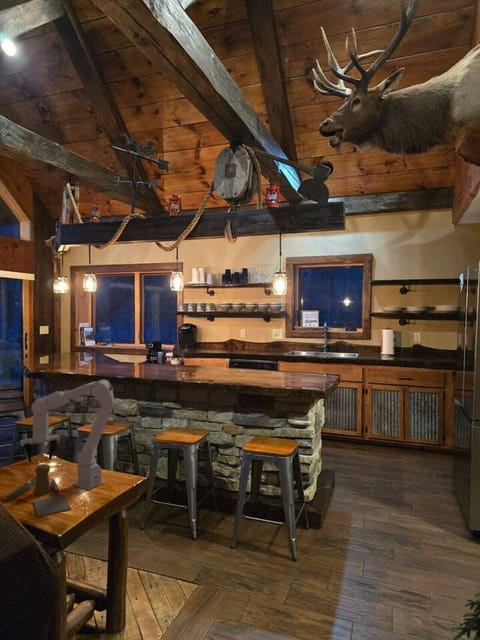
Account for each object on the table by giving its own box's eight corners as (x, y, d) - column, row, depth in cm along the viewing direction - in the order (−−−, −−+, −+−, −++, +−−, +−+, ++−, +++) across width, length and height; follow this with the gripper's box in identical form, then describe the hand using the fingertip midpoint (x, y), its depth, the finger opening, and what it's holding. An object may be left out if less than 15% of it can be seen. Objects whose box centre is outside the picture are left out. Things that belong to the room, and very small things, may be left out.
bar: (10, 501, 154) (10, 494, 154) (5, 500, 155) (5, 494, 155) (40, 480, 173) (40, 475, 173) (35, 480, 174) (36, 474, 173)
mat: (71, 509, 150) (71, 508, 150) (37, 517, 144) (37, 515, 144) (64, 495, 161) (64, 494, 161) (33, 502, 155) (33, 501, 155)
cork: (38, 489, 166) (39, 462, 166) (53, 489, 166) (53, 462, 166) (30, 495, 160) (31, 467, 160) (45, 496, 160) (46, 468, 160)
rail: (59, 495, 161) (59, 489, 161) (55, 496, 160) (55, 490, 160) (54, 484, 171) (54, 478, 171) (51, 484, 170) (51, 479, 170)
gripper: (57, 423, 177) (57, 454, 177) (20, 427, 169) (19, 460, 169) (60, 427, 171) (60, 459, 171) (21, 431, 163) (21, 465, 163)
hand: (40, 460), depth 170 cm, fingers open, 7 cm apart
